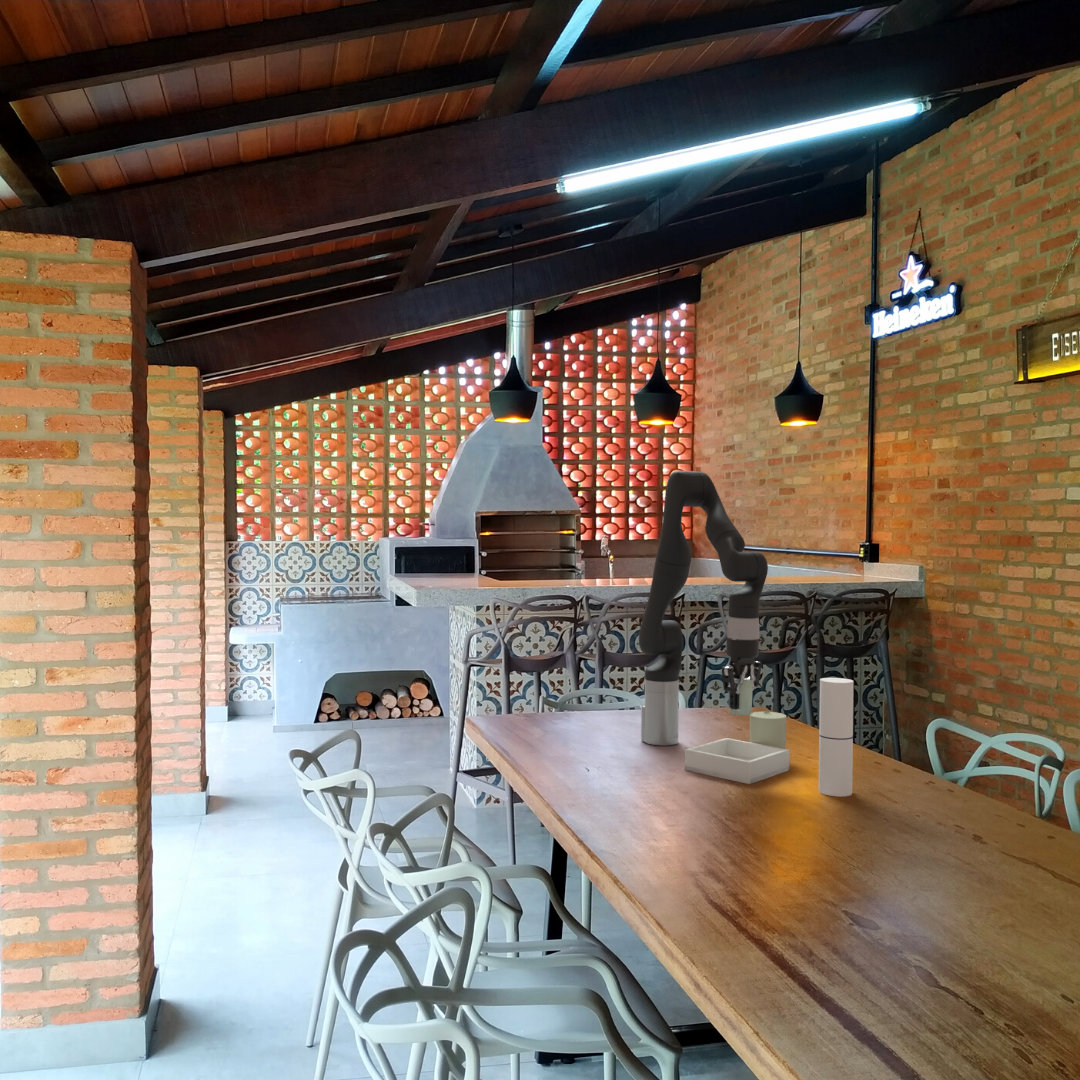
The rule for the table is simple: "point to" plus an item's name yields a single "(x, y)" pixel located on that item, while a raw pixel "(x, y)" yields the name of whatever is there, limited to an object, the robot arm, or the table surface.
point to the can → (768, 729)
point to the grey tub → (737, 760)
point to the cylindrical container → (836, 736)
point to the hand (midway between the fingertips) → (740, 706)
